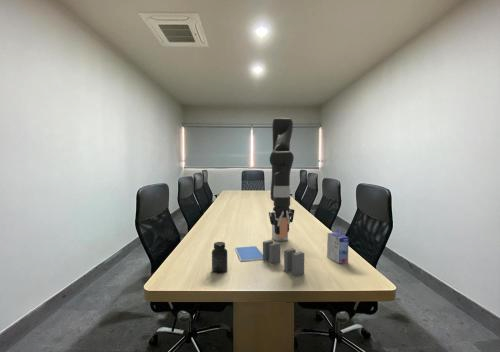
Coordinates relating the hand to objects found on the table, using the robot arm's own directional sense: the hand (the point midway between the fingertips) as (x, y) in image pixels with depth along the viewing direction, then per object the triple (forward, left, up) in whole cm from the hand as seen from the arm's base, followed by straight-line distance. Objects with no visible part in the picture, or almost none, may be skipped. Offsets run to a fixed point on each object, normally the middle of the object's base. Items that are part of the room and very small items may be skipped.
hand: (282, 232), depth 107 cm
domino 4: (+5, 0, -15) cm, 16 cm away
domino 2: (-5, 0, -15) cm, 16 cm away
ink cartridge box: (+10, +27, -16) cm, 33 cm away
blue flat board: (-22, -3, -16) cm, 27 cm away
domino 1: (-10, 0, -15) cm, 18 cm away
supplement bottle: (-13, -25, -16) cm, 32 cm away
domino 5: (+10, 0, -15) cm, 18 cm away
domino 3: (0, 0, -2) cm, 2 cm away
